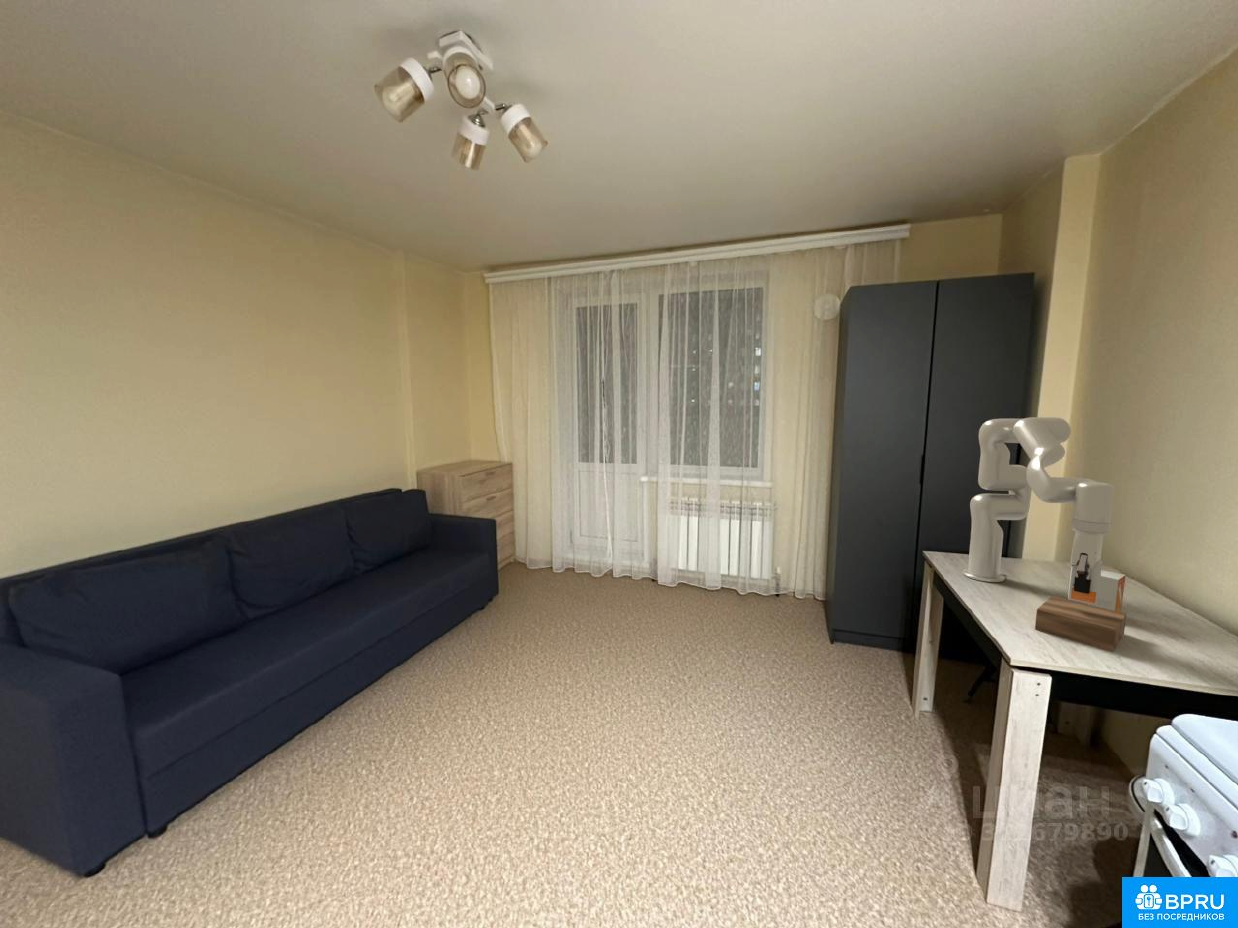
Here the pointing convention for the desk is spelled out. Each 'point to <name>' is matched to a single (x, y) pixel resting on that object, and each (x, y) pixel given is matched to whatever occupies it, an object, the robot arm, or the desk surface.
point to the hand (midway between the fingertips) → (1083, 589)
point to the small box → (1110, 591)
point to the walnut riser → (1081, 622)
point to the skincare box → (1094, 586)
